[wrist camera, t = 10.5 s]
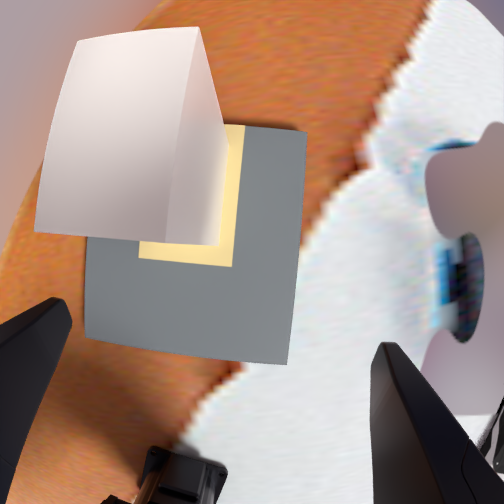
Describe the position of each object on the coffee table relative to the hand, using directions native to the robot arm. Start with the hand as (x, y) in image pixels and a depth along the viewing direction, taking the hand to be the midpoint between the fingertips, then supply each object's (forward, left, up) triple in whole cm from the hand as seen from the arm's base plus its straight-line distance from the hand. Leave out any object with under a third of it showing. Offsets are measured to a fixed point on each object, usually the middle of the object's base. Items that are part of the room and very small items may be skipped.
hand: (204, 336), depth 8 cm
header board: (+2, +4, -13) cm, 14 cm away
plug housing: (+5, +4, -12) cm, 13 cm away
